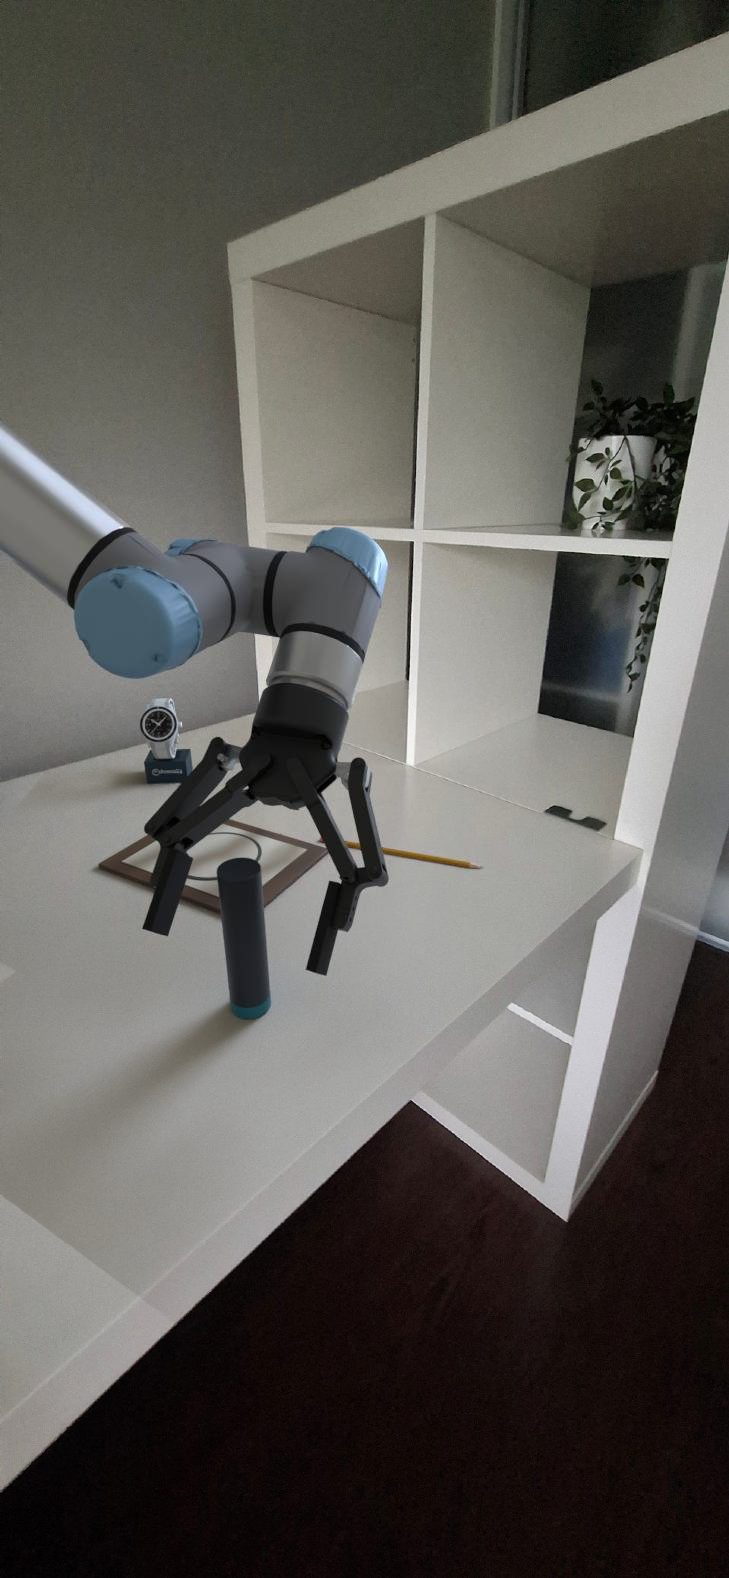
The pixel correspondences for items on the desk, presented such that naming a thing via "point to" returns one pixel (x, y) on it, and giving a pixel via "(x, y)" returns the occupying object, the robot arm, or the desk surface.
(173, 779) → the watch
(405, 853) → the pencil
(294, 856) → the sketch board
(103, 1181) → the desk surface
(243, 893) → the marker
